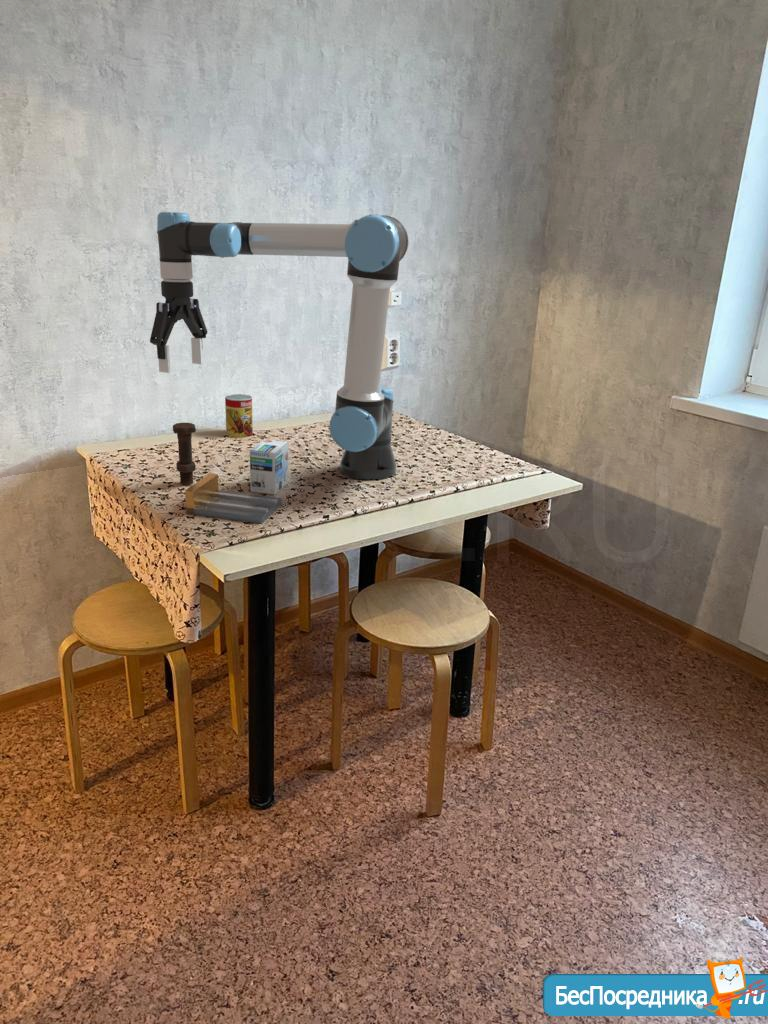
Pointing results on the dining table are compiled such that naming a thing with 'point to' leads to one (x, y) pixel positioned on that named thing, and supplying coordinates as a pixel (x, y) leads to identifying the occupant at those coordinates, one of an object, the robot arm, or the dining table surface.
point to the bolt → (185, 451)
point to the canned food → (238, 415)
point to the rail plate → (228, 502)
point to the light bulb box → (269, 466)
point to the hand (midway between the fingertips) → (181, 367)
